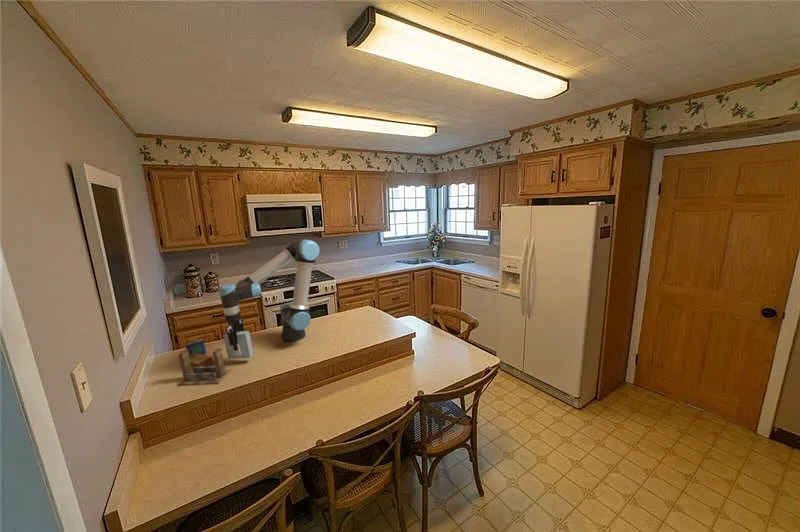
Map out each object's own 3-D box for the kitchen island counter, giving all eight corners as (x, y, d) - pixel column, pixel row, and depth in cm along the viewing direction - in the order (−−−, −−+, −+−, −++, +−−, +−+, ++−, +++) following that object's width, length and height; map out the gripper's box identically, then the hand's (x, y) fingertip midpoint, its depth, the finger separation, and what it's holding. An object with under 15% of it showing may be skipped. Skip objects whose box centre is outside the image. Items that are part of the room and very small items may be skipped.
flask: (205, 352, 185) (202, 335, 183) (207, 353, 183) (204, 337, 181) (188, 358, 178) (184, 341, 176) (189, 359, 176) (185, 342, 174)
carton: (199, 371, 164) (197, 363, 163) (181, 365, 171) (179, 358, 170) (213, 363, 171) (212, 356, 170) (196, 358, 178) (194, 351, 177)
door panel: (253, 353, 171) (249, 330, 168) (250, 357, 167) (245, 334, 164) (232, 355, 172) (227, 332, 168) (228, 359, 167) (223, 335, 164)
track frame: (231, 370, 162) (226, 344, 159) (218, 383, 150) (212, 356, 147) (193, 372, 162) (188, 346, 159) (177, 385, 150) (171, 358, 147)
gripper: (233, 307, 172) (241, 345, 177) (215, 320, 155) (225, 361, 161) (247, 307, 172) (254, 345, 177) (230, 319, 155) (239, 360, 160)
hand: (240, 352), depth 169 cm, fingers closed on door panel, 4 cm apart
